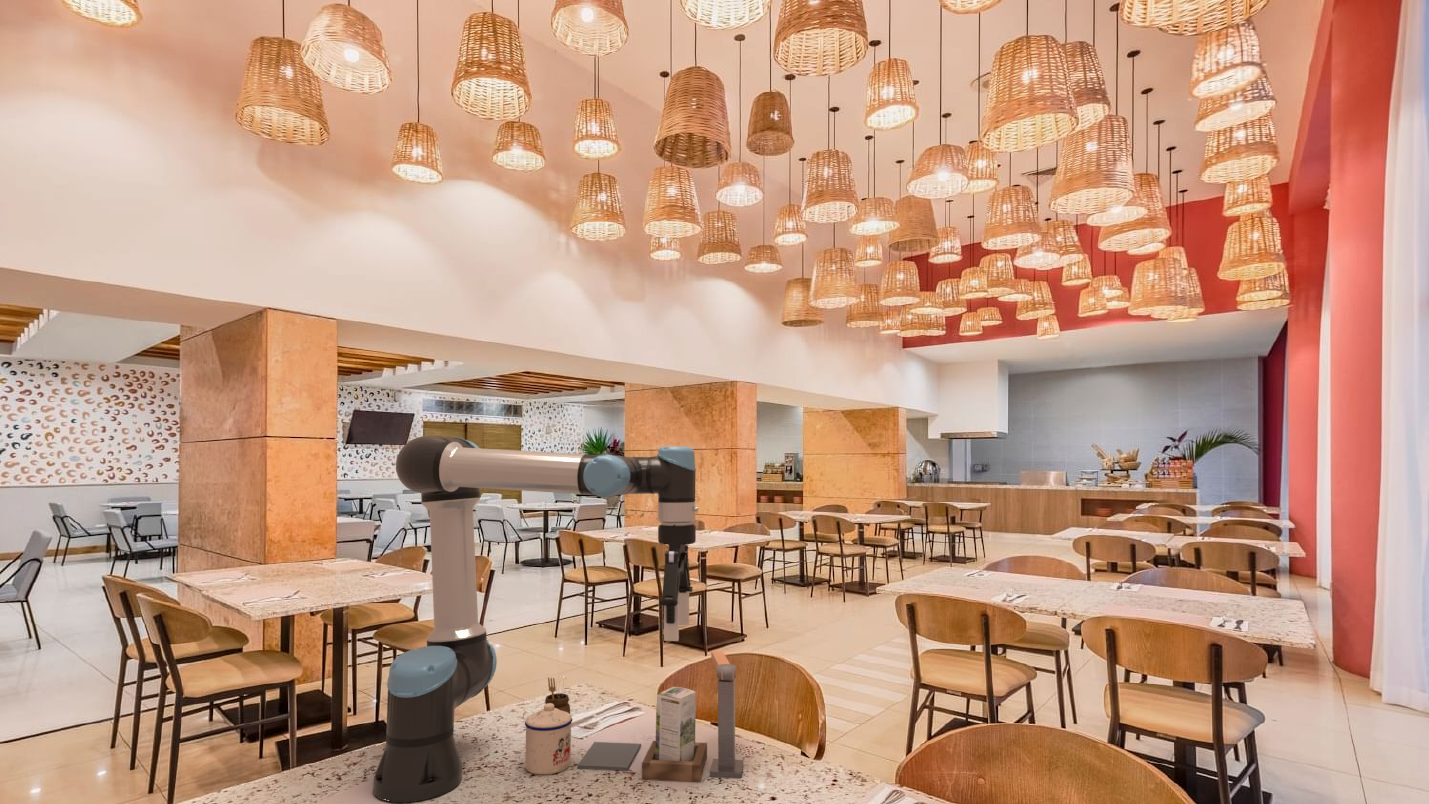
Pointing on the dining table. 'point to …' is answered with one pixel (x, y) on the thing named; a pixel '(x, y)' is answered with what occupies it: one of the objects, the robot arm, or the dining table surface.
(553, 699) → the utensil holder
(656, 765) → the socket collar
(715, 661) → the bar
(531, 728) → the teacup with lid
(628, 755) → the slate mat
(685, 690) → the syrup box
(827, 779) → the dining table surface
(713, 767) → the clip post
